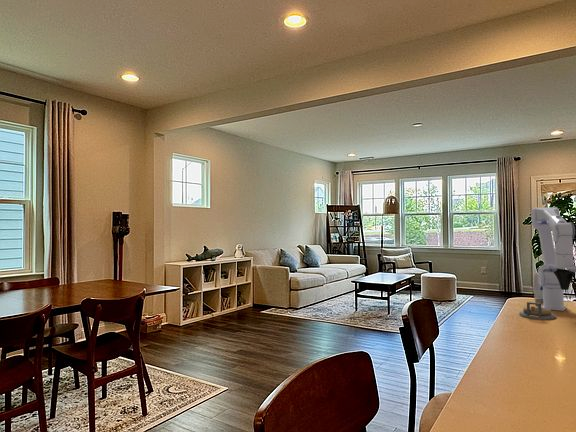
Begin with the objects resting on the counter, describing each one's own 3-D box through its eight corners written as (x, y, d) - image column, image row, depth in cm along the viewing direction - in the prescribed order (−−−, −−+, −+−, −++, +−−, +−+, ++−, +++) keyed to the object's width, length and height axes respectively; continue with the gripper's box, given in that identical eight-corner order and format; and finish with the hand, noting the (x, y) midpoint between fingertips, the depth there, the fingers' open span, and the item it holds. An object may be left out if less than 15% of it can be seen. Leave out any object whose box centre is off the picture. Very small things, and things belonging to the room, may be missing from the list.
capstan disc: (518, 311, 160) (517, 298, 160) (533, 309, 164) (533, 297, 164) (540, 316, 152) (540, 302, 152) (556, 313, 156) (556, 300, 156)
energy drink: (550, 302, 185) (550, 275, 185) (538, 302, 185) (538, 275, 185) (543, 299, 190) (542, 274, 190) (532, 300, 190) (531, 274, 191)
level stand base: (523, 311, 166) (522, 296, 167) (558, 315, 159) (557, 300, 159) (516, 316, 157) (515, 301, 157) (552, 321, 149) (552, 304, 150)
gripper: (590, 255, 150) (591, 292, 150) (556, 252, 164) (557, 286, 164) (573, 255, 149) (575, 293, 149) (541, 253, 163) (542, 287, 163)
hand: (564, 289), depth 156 cm, fingers closed
